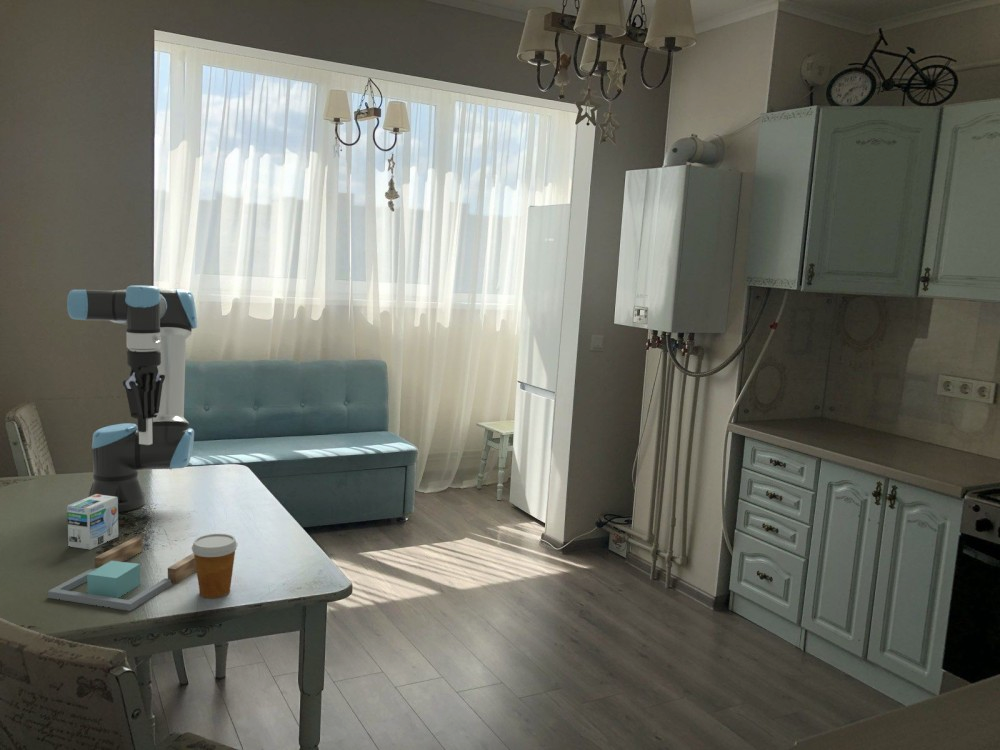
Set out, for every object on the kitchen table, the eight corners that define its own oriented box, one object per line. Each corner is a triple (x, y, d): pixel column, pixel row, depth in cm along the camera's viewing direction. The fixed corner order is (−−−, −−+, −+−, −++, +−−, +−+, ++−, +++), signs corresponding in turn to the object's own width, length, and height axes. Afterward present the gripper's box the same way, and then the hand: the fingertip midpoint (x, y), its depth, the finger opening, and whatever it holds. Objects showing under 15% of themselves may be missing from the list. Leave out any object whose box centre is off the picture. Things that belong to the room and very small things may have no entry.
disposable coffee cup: (192, 604, 167) (192, 550, 165) (191, 586, 176) (190, 535, 174) (239, 598, 171) (239, 545, 169) (235, 581, 179) (235, 531, 178)
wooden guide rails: (135, 550, 194) (135, 537, 194) (211, 561, 190) (211, 547, 189) (94, 571, 181) (94, 557, 180) (175, 584, 176) (175, 569, 176)
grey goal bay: (93, 573, 180) (93, 567, 179) (171, 585, 176) (170, 579, 175) (48, 597, 167) (47, 591, 166) (130, 611, 162) (130, 604, 162)
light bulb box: (90, 550, 193) (89, 508, 192) (67, 547, 195) (65, 505, 193) (119, 536, 204) (119, 496, 202) (97, 533, 205) (96, 493, 203)
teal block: (112, 581, 177) (111, 560, 176) (140, 585, 175) (139, 564, 175) (87, 596, 169) (87, 574, 168) (117, 600, 168) (116, 578, 167)
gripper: (139, 353, 184) (141, 451, 187) (174, 347, 196) (175, 439, 200) (111, 351, 185) (114, 448, 189) (147, 345, 198) (149, 436, 201)
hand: (145, 443), depth 194 cm, fingers closed
